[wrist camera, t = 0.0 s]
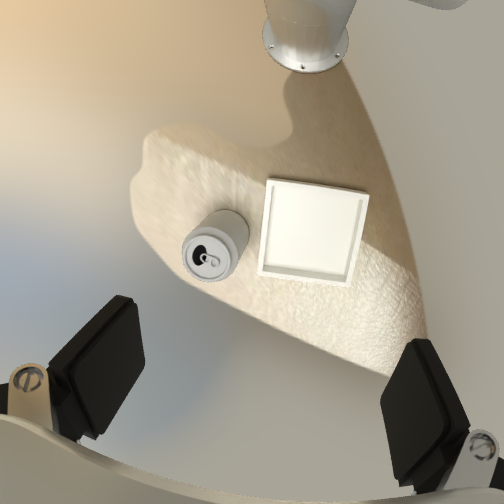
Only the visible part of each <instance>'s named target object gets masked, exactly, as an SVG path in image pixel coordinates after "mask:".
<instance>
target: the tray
mask: <svg viewBox="0 0 504 504" xmlns="http://www.w3.org/2000/svg"><path fill="white" fill-rule="evenodd" d="M368 200H369V195H368V194H367V193H366V192H363V191H358V190H352V189H346V188H340V187H334V186H328V185H322V184H315V183H308V182H301V181H294V180H287V179H279V178H271V177H269V178H268V179H267V185H266V194H265V204H264V213H263V222H262V231H261V240H260V249H259V258H258V267H257V275H259V276H266V277H273V278H280V279H287V280H295V281H302V282H309V283H317V284H324V285H332V286H339V287H347V288H349V287H350V284H351V280H352V276H353V272H354V267H355V263H356V259H357V255H358V250H359V246H360V241H361V236H362V232H363V227H364V222H365V217H366V211H367V206H368Z"/></svg>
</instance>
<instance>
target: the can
mask: <svg viewBox="0 0 504 504" xmlns="http://www.w3.org/2000/svg"><path fill="white" fill-rule="evenodd" d="M248 239H249V229H248V226H247V224H246V222H245V220H244V219H243V218H242V217H241V216H240V215H239V214H237V213H235V212H233V211H229V210H219V211H216V212H214V213H212V214H211V215H209V216H208V217H207V218H206V219H205V220H204V221H203V222H202V223H200V224H199V225H198V226H197V227H196V228H195V229H194V230H193V231H192V232H191V233H190V234H189V235H188V236H187V237H186V238H185V240H184V242H183V245H182V259H183V263H184V266H185V268H186V269H187V271H188V272H189V273H190V274H191V275H192V276H193V277H194V278H196V279H198V280H200V281H204V282H215V281H220V280H223V279H226V278H227V277H228V276H230V275H231V274H232V273H233V271H234V270H235V268H236V266H237V264H238V262H239V260H240V258H241V256H242V254H243V251H244V249H245V247H246V245H247V243H248Z"/></svg>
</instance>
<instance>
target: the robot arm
mask: <svg viewBox="0 0 504 504" xmlns="http://www.w3.org/2000/svg"><path fill="white" fill-rule="evenodd" d="M410 1H413V2H416V3H419V4H422V5H425V6H428V7H432V8H436V9H441V10H452V9H456V8H458V7H460V6H462V5H463V4H464V3H465V2H466V1H467V0H410ZM264 2H265V6H266V10H267V14H268V18H267V20H266V22H265V24H264V27H263V31H262V34H263V37H262V38H263V42H264V46H265V48H266V50H267V51H268V53H269V55H270V56H271V57H272V58H273V59H274V61H276V62H277V63H278V64H280V65H281V66H283V67H285V68H286V69H289V70H291V71H294V72H299V73H307V74H313V73H319V72H323V71H326V70H329V69H330V68H332V67H334V66H335V65H336V64H338V63H339V62H340V61H341V59H342V58H343V57H344V55H345V53H346V51H347V48H348V32H347V30H346V27H345V26H346V24H347V22H348V19H349V17H350V15H351V12H352V10H353V8H354V5H355V3H356V0H264ZM270 48H273V50H270ZM335 56H338V58H336V57H335ZM301 67H304V68H305V69H301ZM144 366H145V357H144V350H143V344H142V337H141V330H140V323H139V314H138V307H137V304H136V303H134V301H133V299H132V298H129V297H124V296H121V295H116V296H115V297H114V298H113V299H111V300H110V301H109V302H108V303H107V304H106V305H105V306H104V307H103V308H102V309H101V310H100V311H99V312H98V313H97V314H96V315H95V316H94V317H93V318H92V319H91V320H90V321H89V322H88V323H87V324H86V325H85V326H84V327H83V328H82V329H81V330H80V331H79V332H78V333H77V334H76V335H75V336H74V337H73V338H72V339H71V340H70V341H69V342H68V343H67V344H66V345H65V346H64V347H63V348H62V349H61V350H60V351H59V353H57V354H56V355H55V357H54V358H53V359H52V360H51V361H50V362H49V367H48V368H47V369H45V368H44V367H42V366H41V365H39V364H35V363H28V364H24V365H22V366H20V367H18V368H17V369H15V370H14V371H13V373H12V374H11V376H10V379H9V383H6V384H0V504H504V459H502V458H500V457H498V456H499V444H498V442H497V440H496V438H495V437H494V436H493V435H492V434H491V433H489V432H488V431H485V430H479V429H477V430H474V431H472V432H471V433H470V432H469V429H468V428H469V427H470V426H471V425H470V423H469V420H468V418H467V416H466V413H465V411H464V409H463V406H462V404H461V402H460V400H459V398H458V395H457V393H456V391H455V389H454V387H453V385H452V382H451V380H450V378H449V376H448V374H447V373H446V370H445V368H444V366H443V364H442V362H441V360H440V358H439V356H438V354H437V353H436V351H435V349H434V347H433V345H432V343H431V341H430V340H429V339H418V338H415V339H413V340H412V341H411V342H409V343H407V345H406V347H405V349H404V351H403V353H402V355H401V358H400V360H399V362H398V364H397V366H396V368H395V370H394V372H393V374H392V376H391V378H390V380H389V382H388V384H387V386H386V388H385V390H384V392H383V394H382V396H381V401H380V404H381V409H382V414H383V418H384V423H385V428H386V433H387V438H388V443H389V449H390V454H391V460H392V466H393V473H394V477H395V479H396V480H398V481H399V487H402V486H409V485H413V486H414V491H413V493H412V495H411V496H405V497H398V498H389V499H380V500H370V501H353V502H302V501H286V500H285V501H284V500H275V499H265V498H257V497H249V496H243V495H236V494H231V493H225V492H220V491H215V490H210V489H206V488H201V487H197V486H193V485H189V484H185V483H181V482H177V481H174V480H171V479H167V478H163V477H161V476H158V475H154V474H151V473H148V472H145V471H143V470H140V469H137V468H134V467H131V466H129V465H126V464H124V463H121V462H119V461H116V460H114V459H111V458H109V457H106V456H104V455H102V454H99V453H97V452H95V451H93V450H90V449H88V448H86V447H84V446H82V445H81V443H80V438H81V437H82V435H85V436H87V437H89V438H91V439H94V440H96V438H97V437H98V436H99V434H101V435H102V434H104V433H105V431H106V429H107V428H108V426H109V424H110V423H111V421H112V419H113V418H114V416H115V414H116V413H117V411H118V409H119V408H120V406H121V405H122V403H123V401H124V400H125V398H126V396H127V395H128V393H129V392H130V390H131V388H132V387H133V385H134V383H135V382H136V380H137V379H138V377H139V375H140V374H141V372H142V370H143V369H144Z"/></svg>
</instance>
